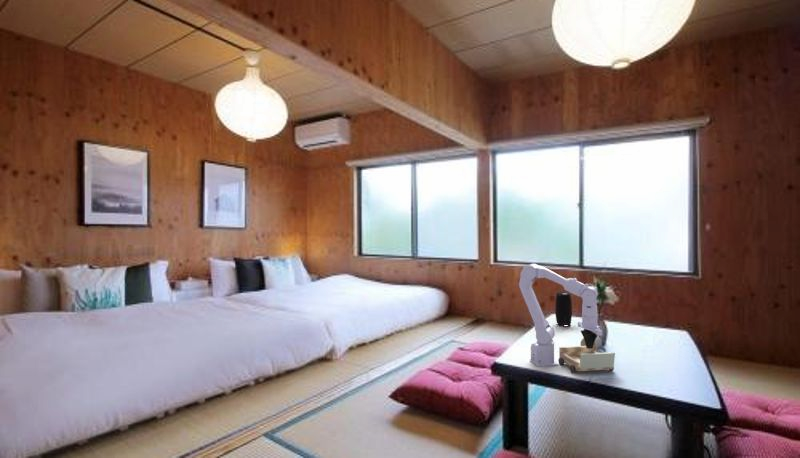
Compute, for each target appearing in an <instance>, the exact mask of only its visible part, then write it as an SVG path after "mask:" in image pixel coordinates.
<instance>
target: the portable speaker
mask: <svg viewBox="0 0 800 458" xmlns="http://www.w3.org/2000/svg"><path fill="white" fill-rule="evenodd" d="M571 294H572V293H571V292H568V291H558V292H556V295H555V309H554V310H555V320H556V324H557V323H558V324H557V325H560V326H561V325H568V326H570V325H572V324H571V323H572V319H573V302H572V296H571ZM569 324H570V325H569Z"/></svg>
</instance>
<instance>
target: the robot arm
mask: <svg viewBox="0 0 800 458" xmlns="http://www.w3.org/2000/svg"><path fill="white" fill-rule="evenodd" d="M519 274H520V277H519V282H518V287H519V290H520V292H521V295H522V297H523V299H524V302H525V304H526V306H527V309H528V311H529V314H530V316H531V319H532V322H533V323H534V330H535V331H534V332H535V339H536V342H533V343H532V344H531V345H530V359H529V361H530V362H532V363H533V364H534V365H536V366H537V367H549V366H559V363H558V362H557V361H555V341H554V340H553V338H554V337H555V336H556V335H555V334H556V333H555V329H554V328H553V327H552V326H551V325H550V323H549V321H547V320H546V317H545V315H544V313H543V311H542V308H541V306H540V303H539V301H538V298H537V295H536V294H535V292H534V289H533V284H534V282H535V280H536V279H547V280H549V281H553V282H554V283H556V284H559V285H561V286H562V287H563V289H564V291H566V292H568V293H570V294H573V295H575V296H577V297H579V298H580V297H581V300H582V305H581V310H582V311H581V321H577V327H578V328H582V330H580V333H581V335H582V337H583V338H584V340H585V344H586V348H588V349H591V348H593V345H594V342H595V339H596V338H597V336H599V337H600V336H603V330H602V329H600V326H599V325H598V305H597V304H598V300H597V297H598V295H599V293H598V289H596V288H595V287H593V286H592V285H589V284H588V283H585V284H584V283H582V282H581V281H578V279H577V278H576V277H573V278H572V277H569V278H566V277H563V276H561V274H557V273H556V272H554V271H552V270H550V269H549V268H547V267H545V266H542V265H538V264H537V263H530V264H528V265H525V266H524V267H523V268H522V269H521V272H520V273H519Z"/></svg>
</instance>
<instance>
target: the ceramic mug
mask: <svg viewBox="0 0 800 458" xmlns="http://www.w3.org/2000/svg"><path fill="white" fill-rule="evenodd" d="M580 346H586V344H585V340H584V337H583V338H582V339H581V340H580ZM593 346H594V351H596V352H598V353H607V349H606V347H604V346H603V341H602V338H600V336H597V338H596V339H595V342H594V345H593ZM600 349H601V350H600Z"/></svg>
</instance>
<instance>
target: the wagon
mask: <svg viewBox="0 0 800 458" xmlns="http://www.w3.org/2000/svg"><path fill="white" fill-rule="evenodd" d="M558 352H559V354H558V355H559V356H558V357H559V358H558V360H557V361H558V365H559V366H564V365H567V366H568V367H569V372H570V373H571V374H575V373H576V372H586V371H587V372H589V371H602V370H606V371H607V370H608V371H611V372H612V371H615V370H614V369H615V366H614V367H605V368H588V369H580V368H579V367H580V355H581V354H588V353H598V352H596V351H594V346H593V348H591V349H588V348H586V346H581V345H580V346H579V345H577V346H575V345H574V346H560V347H559V351H558Z"/></svg>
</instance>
